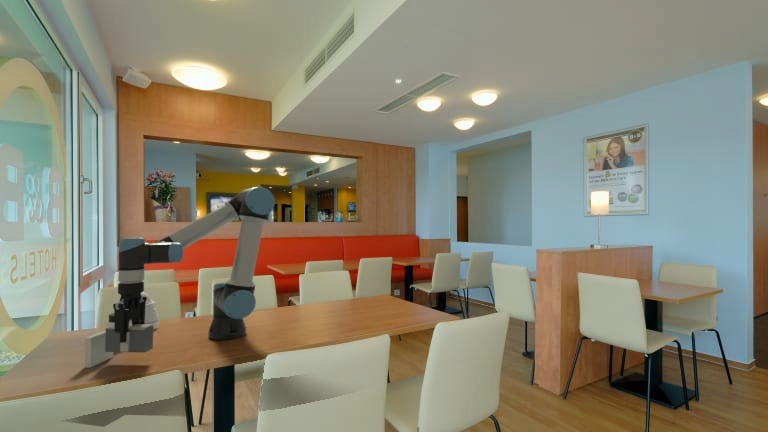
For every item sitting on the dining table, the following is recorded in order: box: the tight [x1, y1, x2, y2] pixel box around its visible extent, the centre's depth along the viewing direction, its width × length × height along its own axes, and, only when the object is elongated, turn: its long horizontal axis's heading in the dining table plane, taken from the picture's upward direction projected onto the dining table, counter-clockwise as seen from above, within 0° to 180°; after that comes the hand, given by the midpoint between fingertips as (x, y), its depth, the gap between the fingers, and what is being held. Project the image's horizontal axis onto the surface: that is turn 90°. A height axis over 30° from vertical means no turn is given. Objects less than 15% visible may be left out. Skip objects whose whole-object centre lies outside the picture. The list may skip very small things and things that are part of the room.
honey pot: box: [141, 291, 160, 331], centre depth 170 cm, size 13×13×18 cm
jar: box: [106, 312, 132, 328], centre depth 149 cm, size 9×8×12 cm
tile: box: [84, 329, 114, 368], centre depth 129 cm, size 2×10×10 cm, turn 178°
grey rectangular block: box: [105, 324, 154, 354], centre depth 128 cm, size 14×4×8 cm, turn 88°
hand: (129, 348), depth 128 cm, fingers closed on grey rectangular block, 4 cm apart
